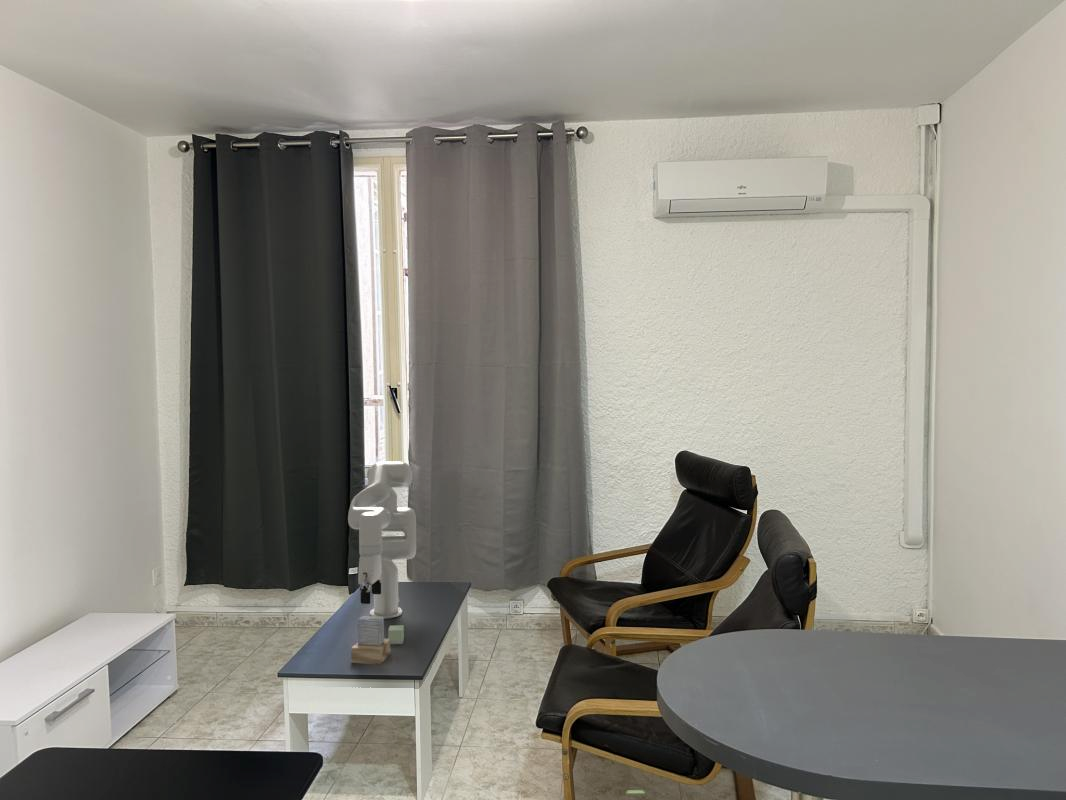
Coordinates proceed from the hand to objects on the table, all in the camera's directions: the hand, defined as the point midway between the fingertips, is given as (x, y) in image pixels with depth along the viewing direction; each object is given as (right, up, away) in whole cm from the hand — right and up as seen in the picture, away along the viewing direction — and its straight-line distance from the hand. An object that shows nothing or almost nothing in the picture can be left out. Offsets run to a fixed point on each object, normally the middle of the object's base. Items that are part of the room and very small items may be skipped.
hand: (371, 598), depth 253 cm
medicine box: (0, -16, 0) cm, 16 cm away
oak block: (0, -20, +1) cm, 20 cm away
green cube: (+6, -20, +16) cm, 26 cm away
